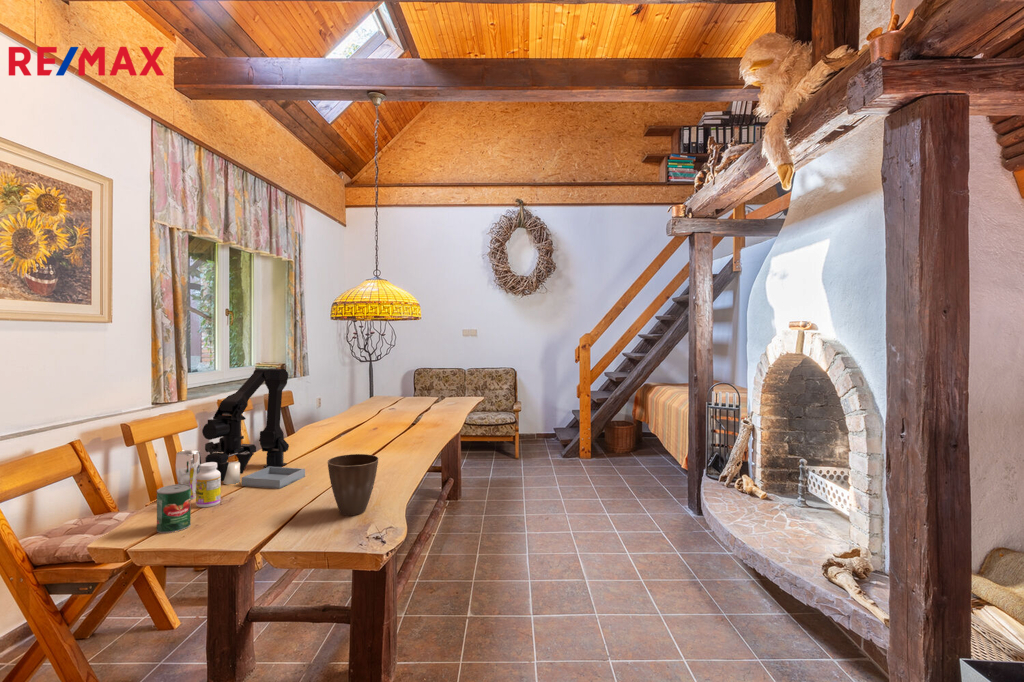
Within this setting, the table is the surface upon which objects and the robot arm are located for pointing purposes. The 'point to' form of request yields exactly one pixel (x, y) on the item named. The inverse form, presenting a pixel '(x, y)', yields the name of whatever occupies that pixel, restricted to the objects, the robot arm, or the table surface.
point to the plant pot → (352, 481)
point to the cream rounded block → (232, 473)
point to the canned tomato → (173, 508)
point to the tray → (273, 477)
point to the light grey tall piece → (188, 468)
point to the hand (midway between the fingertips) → (231, 477)
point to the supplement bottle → (208, 485)
